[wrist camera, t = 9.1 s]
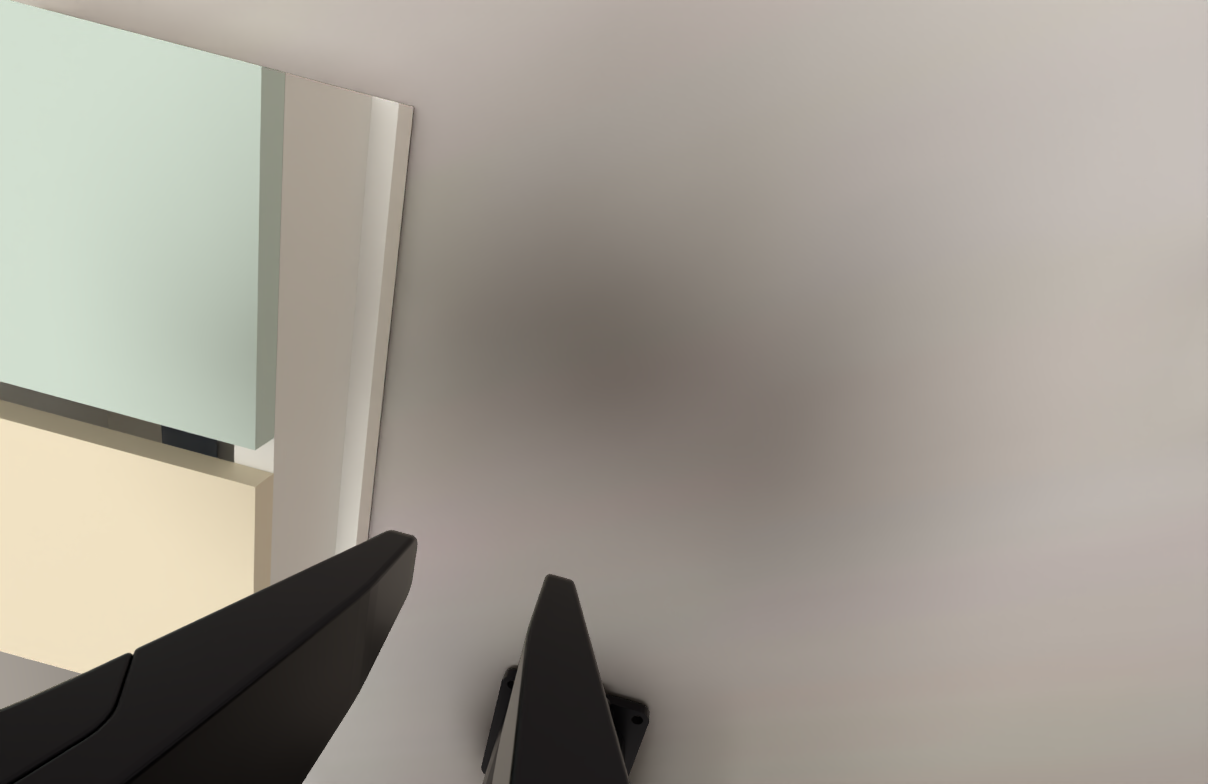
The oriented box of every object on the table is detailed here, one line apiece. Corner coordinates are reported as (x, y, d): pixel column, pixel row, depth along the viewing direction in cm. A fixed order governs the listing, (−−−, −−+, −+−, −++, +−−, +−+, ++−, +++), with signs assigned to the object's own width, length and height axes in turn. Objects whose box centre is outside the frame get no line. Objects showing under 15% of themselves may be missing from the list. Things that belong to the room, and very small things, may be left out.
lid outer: (273, 437, 16) (255, 450, 16) (-75, 343, 16) (-110, 351, 16) (284, 72, 13) (261, 66, 12) (-156, -44, 13) (-206, -57, 12)
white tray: (360, 607, 25) (288, 706, 20) (97, 533, 25) (-34, 614, 20) (413, 106, 18) (319, 81, 13) (41, 8, 18) (-183, -51, 13)
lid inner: (266, 700, 20) (251, 720, 19) (-16, 622, 20) (-42, 639, 20) (273, 473, 17) (255, 487, 16) (-67, 381, 17) (-101, 390, 16)
